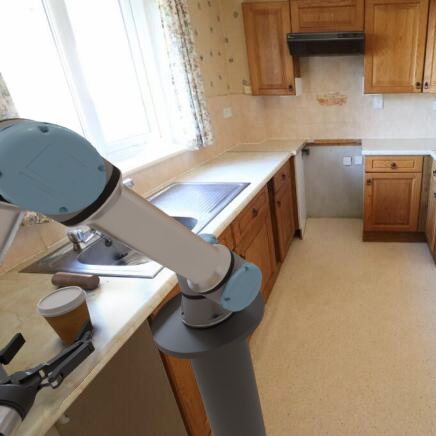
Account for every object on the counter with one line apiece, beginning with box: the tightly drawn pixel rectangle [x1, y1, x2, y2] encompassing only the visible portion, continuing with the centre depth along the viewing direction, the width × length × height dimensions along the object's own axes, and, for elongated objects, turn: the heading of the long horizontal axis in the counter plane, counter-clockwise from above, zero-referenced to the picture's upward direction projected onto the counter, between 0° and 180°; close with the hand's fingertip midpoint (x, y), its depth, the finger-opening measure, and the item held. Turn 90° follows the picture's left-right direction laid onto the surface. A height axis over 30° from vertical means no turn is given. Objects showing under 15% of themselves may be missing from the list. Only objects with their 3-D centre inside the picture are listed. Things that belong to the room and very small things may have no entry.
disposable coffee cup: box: [36, 286, 94, 346], centre depth 79 cm, size 10×10×12 cm
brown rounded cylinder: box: [50, 271, 101, 290], centre depth 100 cm, size 13×4×4 cm, turn 80°
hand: (56, 330), depth 73 cm, fingers open, 13 cm apart
